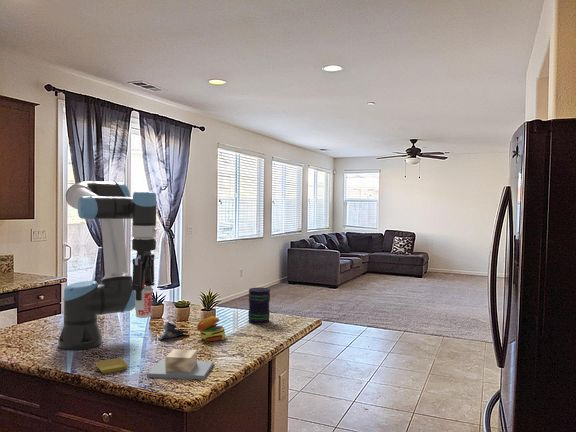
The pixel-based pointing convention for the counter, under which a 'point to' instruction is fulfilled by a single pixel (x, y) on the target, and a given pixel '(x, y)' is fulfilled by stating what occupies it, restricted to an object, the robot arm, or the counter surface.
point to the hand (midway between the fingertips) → (143, 307)
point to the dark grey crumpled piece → (171, 331)
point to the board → (196, 373)
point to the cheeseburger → (211, 329)
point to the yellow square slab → (112, 365)
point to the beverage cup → (145, 303)
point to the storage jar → (259, 305)
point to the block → (181, 360)
